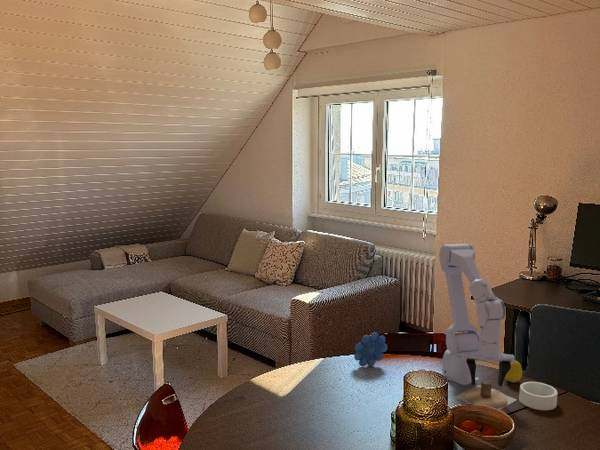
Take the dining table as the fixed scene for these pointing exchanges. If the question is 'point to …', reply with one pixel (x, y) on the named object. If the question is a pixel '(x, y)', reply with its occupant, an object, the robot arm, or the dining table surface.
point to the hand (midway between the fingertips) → (486, 384)
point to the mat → (462, 395)
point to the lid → (485, 395)
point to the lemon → (514, 372)
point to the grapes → (370, 349)
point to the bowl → (538, 395)
